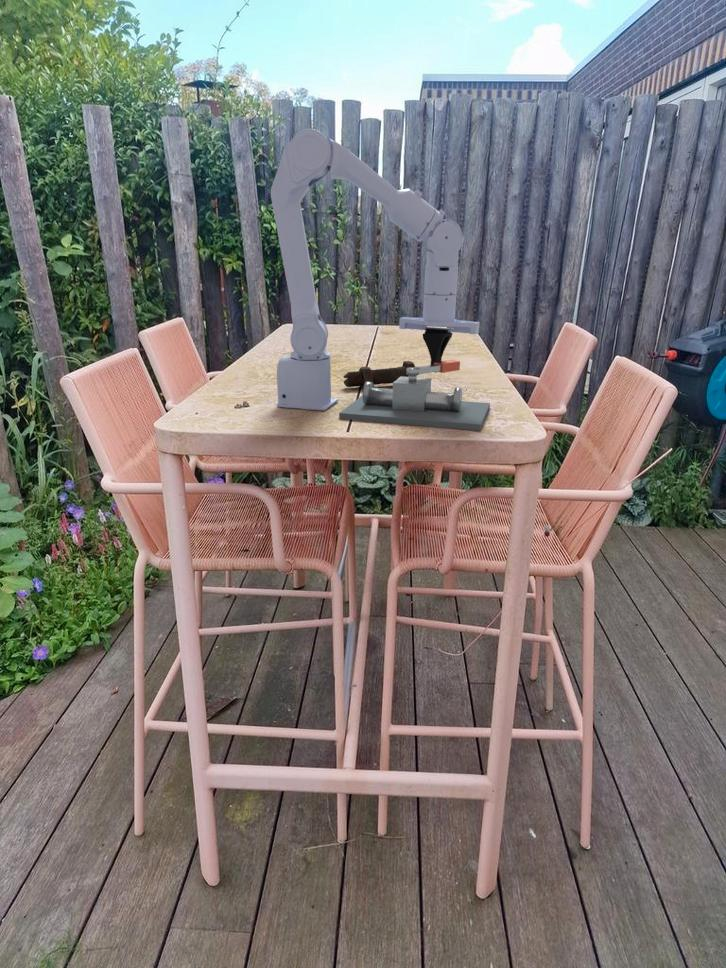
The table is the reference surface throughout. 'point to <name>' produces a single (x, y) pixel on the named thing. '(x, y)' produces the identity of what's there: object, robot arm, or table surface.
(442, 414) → the mounting plate
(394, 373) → the bolt
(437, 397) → the valve manifold
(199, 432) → the table surface
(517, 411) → the table surface
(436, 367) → the valve lever
